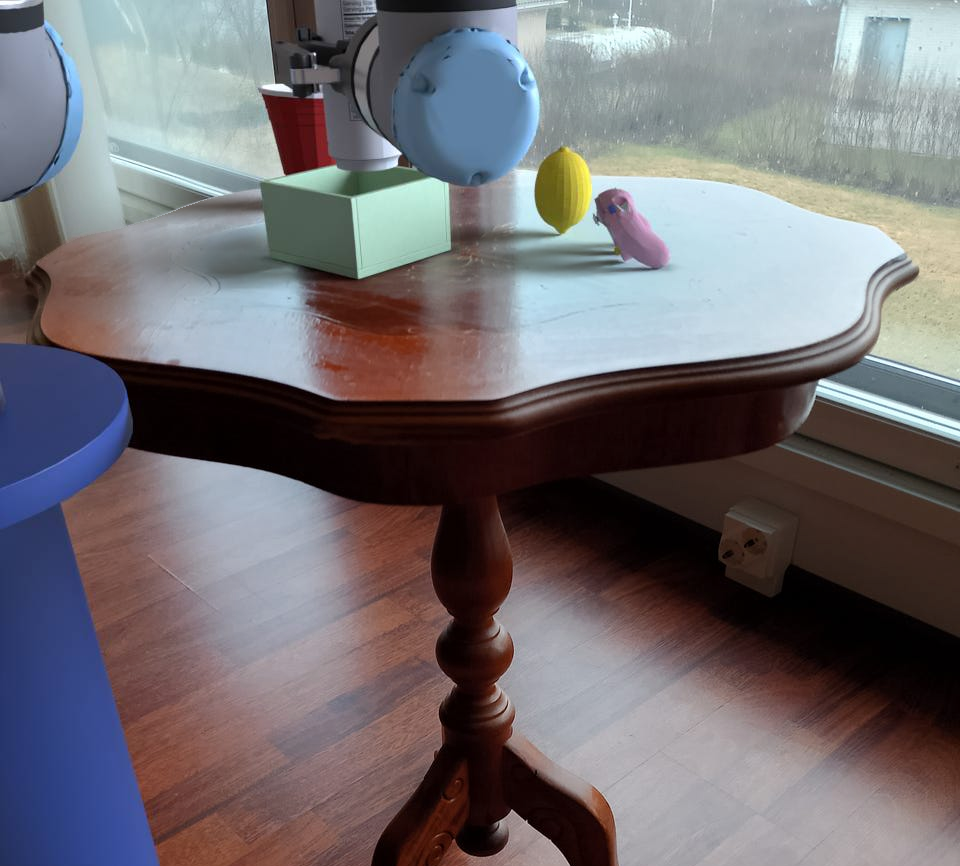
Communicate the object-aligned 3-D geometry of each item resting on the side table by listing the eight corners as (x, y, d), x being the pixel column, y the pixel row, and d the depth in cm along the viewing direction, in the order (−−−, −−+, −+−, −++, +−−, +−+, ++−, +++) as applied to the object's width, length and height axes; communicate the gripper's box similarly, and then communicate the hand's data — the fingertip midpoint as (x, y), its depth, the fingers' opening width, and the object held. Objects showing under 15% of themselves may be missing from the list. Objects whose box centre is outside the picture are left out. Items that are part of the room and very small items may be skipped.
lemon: (601, 232, 106) (604, 144, 102) (567, 244, 103) (568, 154, 98) (557, 224, 109) (558, 139, 105) (522, 235, 106) (522, 148, 101)
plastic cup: (388, 205, 118) (379, 83, 112) (300, 220, 113) (285, 94, 107) (341, 189, 126) (330, 74, 119) (256, 202, 121) (240, 84, 114)
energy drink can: (383, 155, 90) (368, -59, 81) (418, 166, 85) (406, -58, 77) (317, 164, 87) (295, -56, 79) (350, 176, 83) (330, -55, 74)
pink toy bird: (610, 259, 103) (580, 192, 100) (654, 235, 102) (624, 166, 99) (628, 289, 95) (595, 217, 92) (675, 263, 94) (644, 189, 91)
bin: (358, 279, 95) (350, 198, 91) (269, 257, 101) (259, 181, 97) (451, 250, 102) (448, 173, 98) (363, 231, 109) (357, 159, 105)
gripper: (268, 157, 67) (234, 106, 86) (553, 135, 71) (462, 91, 90) (250, 20, 63) (219, -3, 82) (554, 5, 67) (459, -14, 86)
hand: (346, 46), depth 86 cm, fingers closed on energy drink can, 6 cm apart
